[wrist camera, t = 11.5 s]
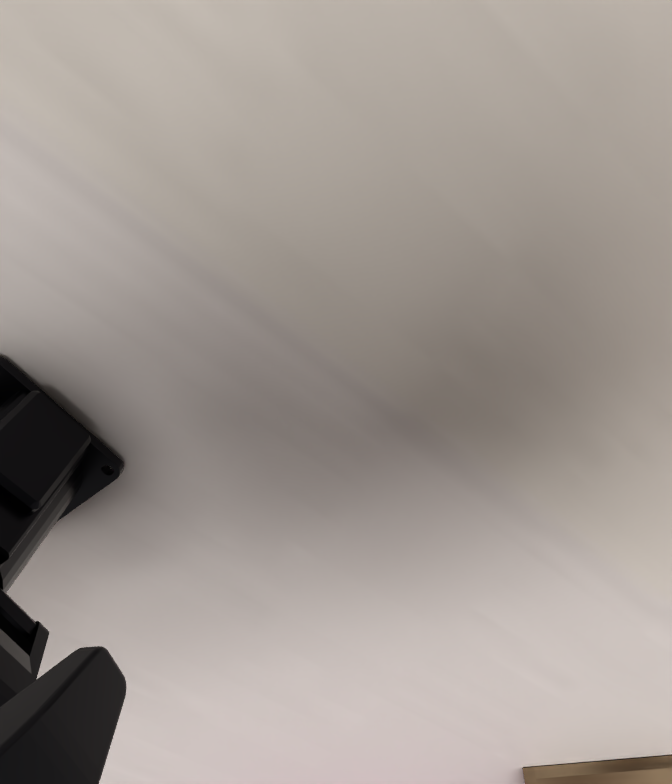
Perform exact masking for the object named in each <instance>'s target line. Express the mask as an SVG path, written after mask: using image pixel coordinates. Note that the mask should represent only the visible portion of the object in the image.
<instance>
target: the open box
mask: <svg viewBox="0 0 672 784" xmlns="http://www.w3.org/2000/svg"><path fill="white" fill-rule="evenodd" d="M523 773H524V779H525V784H672V755H671V756H659V757H647V758H635V759H624V760H612V761H600V762H588V763H576V764H564V765H553V766H541V767H529V768H523Z"/></svg>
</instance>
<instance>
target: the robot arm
mask: <svg viewBox="0 0 672 784" xmlns="http://www.w3.org/2000/svg"><path fill="white" fill-rule="evenodd" d="M107 465H108V466H110V467H112V468H113V469H110V468H108V467H107ZM123 469H124V465H123V462H122V461H121V459H120V458H119V457H117V456H116V455H115V454H114V453H113V452H112V451H111V450H109V449H108V448H107V447H106V446H105V445H104V444H103V443H101V442H100V441H99V440H98V439H97V438H96V437H94V436H93V435H92V434H91V433H90V432H89V431H88V430H86V429H85V428H84V427H83V426H82V425H81V424H80V423H78V422H77V421H76V420H75V419H74V418H73V417H72V416H70V415H69V414H68V413H67V412H66V411H65V410H64V409H62V408H61V407H60V406H59V405H58V404H57V403H55V402H54V401H53V400H52V399H51V398H50V397H49V396H47V395H46V394H45V393H44V392H43V391H42V390H41V389H39V388H38V387H37V386H36V385H35V384H34V383H33V382H31V381H30V380H29V379H28V378H27V377H26V376H25V375H23V374H22V373H21V372H20V371H19V370H18V369H16V368H15V367H14V366H13V365H12V364H11V363H10V362H8V361H7V360H6V359H4V358H3V357H0V784H99V781H100V778H101V775H102V772H103V768H104V765H105V762H106V758H107V755H108V752H109V749H110V745H111V742H112V739H113V735H114V732H115V729H116V726H117V722H118V719H119V716H120V712H121V709H122V706H123V702H124V699H125V695H126V681H125V677H124V675H123V674H122V672H121V670H120V669H119V667H118V666H117V664H116V663H115V661H114V659H113V658H112V656H111V655H110V653H109V652H108V650H107V649H106V648H104V647H100V646H97V647H84V648H79V649H78V650H76V651H74V652H73V653H72V654H70V655H69V656H68V657H66V658H65V659H64V660H62V661H61V662H60V663H58V664H57V665H56V666H54V667H53V668H52V669H50V670H49V671H48V672H46V673H45V674H44V675H42V676H41V677H40V678H38V679H37V680H36V678H37V675H38V671H39V668H40V664H41V660H42V657H43V653H44V650H45V646H46V643H47V639H48V635H49V631H48V630H47V629H46V628H45V627H44V626H43V625H42V624H41V623H40V622H39V621H36V622H35V621H34V620H33V619H32V618H31V617H30V616H28V615H27V614H26V613H25V612H24V611H23V610H22V609H21V608H20V607H19V606H18V605H17V604H16V603H15V602H14V601H13V600H12V599H11V598H10V597H9V596H8V595H7V594H6V593H7V591H8V590H9V588H10V587H11V585H12V584H13V583H14V581H15V580H16V578H17V577H18V576H19V574H20V573H21V571H22V570H23V568H24V567H25V566H26V564H27V563H28V561H29V560H30V558H31V557H32V556H33V554H34V553H35V551H36V550H37V549H38V547H39V546H40V544H41V543H42V541H43V540H44V539H45V537H46V536H47V534H48V533H49V532H50V530H51V529H52V527H53V526H54V524H55V523H56V522H57V521H58V520H60V519H61V518H62V517H64V516H65V515H67V514H68V513H69V512H71V511H72V510H74V509H75V508H76V507H78V506H79V505H81V504H82V503H83V502H85V501H86V500H88V499H89V498H90V497H92V496H93V495H95V494H96V493H97V492H99V491H100V490H102V489H103V488H104V487H106V486H107V485H109V484H110V483H111V482H113V481H114V480H116V479H117V478H118V477H119V476H120V474H121V472H122V471H123Z"/></svg>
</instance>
